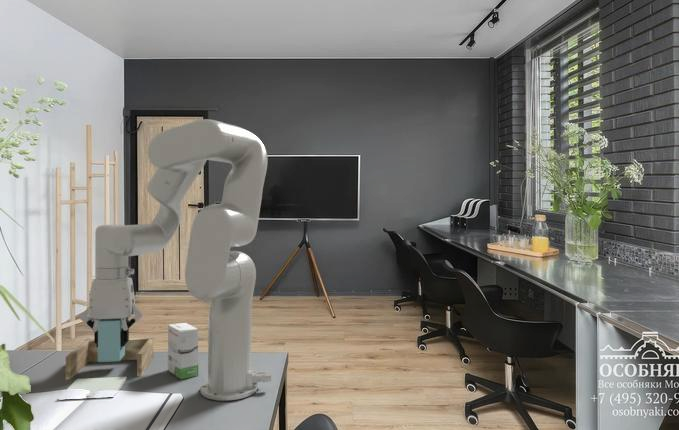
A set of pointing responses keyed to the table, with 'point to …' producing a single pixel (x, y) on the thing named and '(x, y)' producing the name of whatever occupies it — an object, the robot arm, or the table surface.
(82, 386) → the felt mat
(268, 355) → the table surface
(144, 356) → the crate
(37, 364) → the table surface
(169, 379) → the table surface
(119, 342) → the teal block
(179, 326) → the ink box
